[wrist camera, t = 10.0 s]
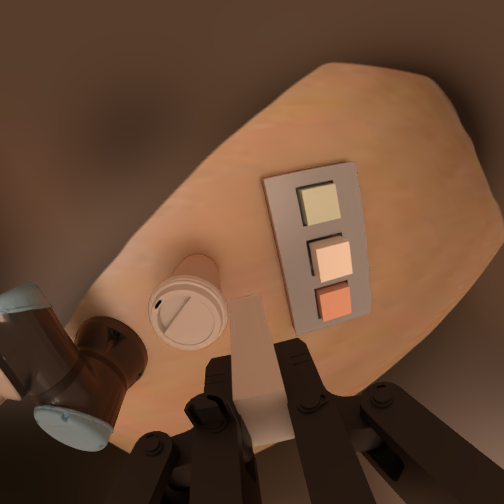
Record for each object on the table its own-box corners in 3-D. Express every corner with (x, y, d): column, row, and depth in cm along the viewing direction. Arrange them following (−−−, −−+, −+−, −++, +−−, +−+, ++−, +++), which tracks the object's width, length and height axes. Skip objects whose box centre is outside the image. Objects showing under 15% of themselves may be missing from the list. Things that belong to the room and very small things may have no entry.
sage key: (302, 221, 41) (308, 225, 38) (295, 188, 40) (301, 190, 36) (332, 214, 41) (340, 217, 38) (326, 182, 40) (335, 183, 37)
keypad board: (293, 326, 48) (296, 336, 45) (261, 178, 40) (263, 179, 37) (364, 305, 48) (371, 312, 45) (346, 161, 40) (354, 161, 37)
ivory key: (314, 273, 42) (321, 282, 38) (308, 243, 40) (316, 249, 37) (343, 265, 42) (352, 273, 39) (339, 235, 40) (349, 241, 37)
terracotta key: (317, 311, 46) (323, 321, 43) (313, 286, 45) (319, 295, 41) (343, 303, 46) (351, 313, 43) (341, 278, 45) (349, 286, 41)
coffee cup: (207, 233, 42) (196, 266, 28) (239, 283, 45) (244, 334, 30) (157, 264, 43) (127, 307, 28) (190, 309, 45) (177, 366, 31)
